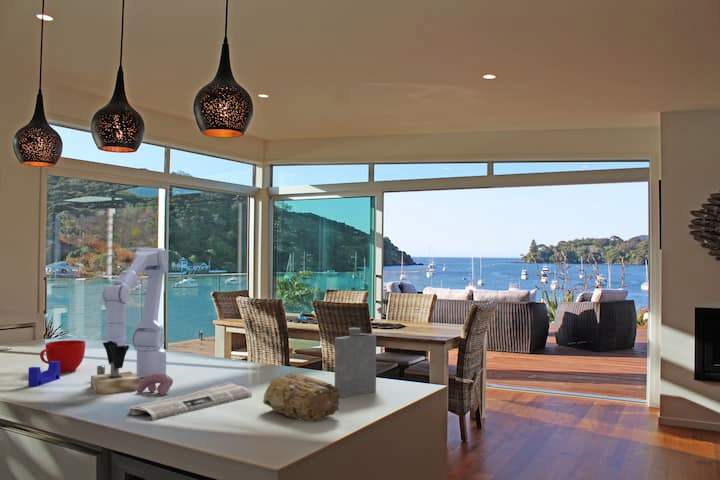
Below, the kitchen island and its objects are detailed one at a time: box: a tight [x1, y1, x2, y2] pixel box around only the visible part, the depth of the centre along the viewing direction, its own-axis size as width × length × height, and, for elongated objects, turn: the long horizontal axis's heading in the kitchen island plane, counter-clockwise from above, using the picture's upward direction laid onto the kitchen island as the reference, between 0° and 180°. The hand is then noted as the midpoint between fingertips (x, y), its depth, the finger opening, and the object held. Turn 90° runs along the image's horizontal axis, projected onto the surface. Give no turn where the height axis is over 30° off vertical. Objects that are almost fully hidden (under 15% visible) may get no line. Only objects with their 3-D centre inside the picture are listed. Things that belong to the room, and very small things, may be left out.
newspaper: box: [129, 380, 252, 421], centre depth 177 cm, size 35×12×4 cm, turn 143°
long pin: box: [110, 362, 120, 378], centre depth 197 cm, size 2×2×8 cm
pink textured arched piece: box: [136, 373, 174, 396], centre depth 191 cm, size 10×5×7 cm, turn 72°
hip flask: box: [334, 327, 377, 400], centre depth 191 cm, size 16×4×20 cm, turn 133°
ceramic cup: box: [39, 339, 86, 373], centre depth 223 cm, size 13×17×10 cm
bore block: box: [90, 371, 141, 395], centre depth 197 cm, size 12×12×4 cm
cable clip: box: [27, 361, 61, 387], centre depth 205 cm, size 12×4×6 cm, turn 173°
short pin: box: [96, 365, 106, 375], centre depth 209 cm, size 2×2×4 cm
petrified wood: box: [262, 373, 340, 422], centre depth 166 cm, size 19×13×10 cm
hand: (115, 366), depth 197 cm, fingers open, 7 cm apart
